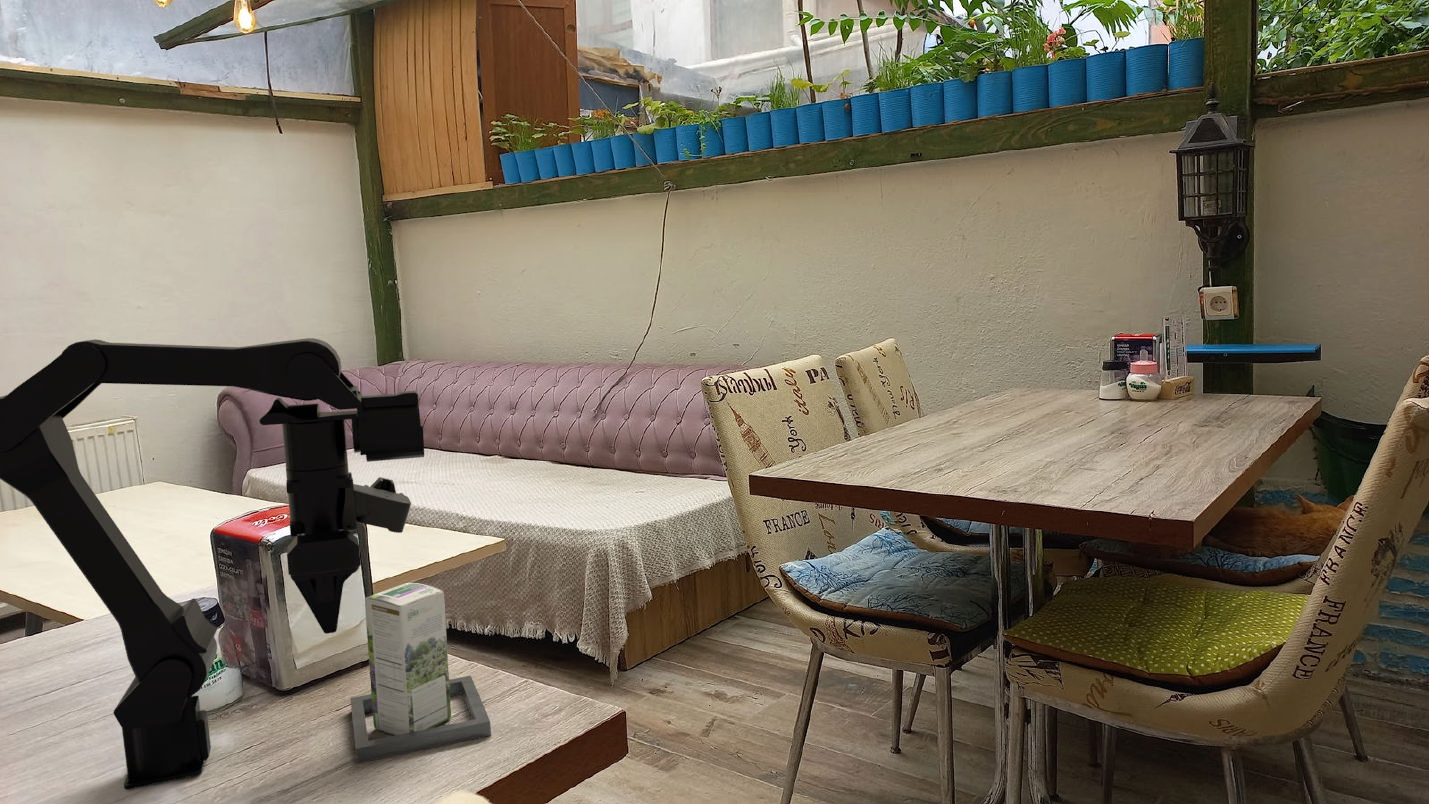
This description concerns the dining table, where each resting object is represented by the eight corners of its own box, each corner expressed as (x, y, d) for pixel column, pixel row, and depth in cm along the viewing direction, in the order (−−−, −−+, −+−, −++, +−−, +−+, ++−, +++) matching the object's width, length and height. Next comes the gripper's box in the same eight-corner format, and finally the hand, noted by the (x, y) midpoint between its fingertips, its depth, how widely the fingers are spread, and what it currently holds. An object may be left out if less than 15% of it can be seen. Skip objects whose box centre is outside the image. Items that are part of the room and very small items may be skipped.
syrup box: (416, 708, 106) (405, 580, 104) (454, 719, 103) (444, 587, 101) (373, 729, 101) (361, 595, 99) (411, 742, 98) (400, 604, 96)
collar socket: (356, 763, 94) (355, 749, 94) (351, 711, 106) (350, 698, 106) (491, 735, 99) (490, 721, 99) (471, 688, 111) (470, 675, 111)
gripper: (411, 473, 90) (422, 634, 92) (394, 445, 107) (404, 581, 109) (280, 486, 86) (295, 654, 88) (285, 454, 103) (297, 596, 105)
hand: (329, 617), depth 98 cm, fingers open, 9 cm apart
